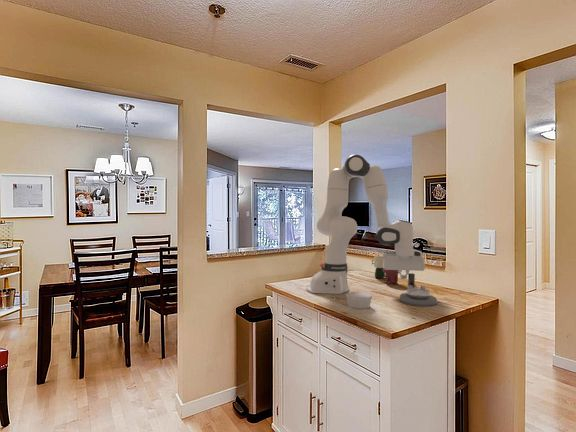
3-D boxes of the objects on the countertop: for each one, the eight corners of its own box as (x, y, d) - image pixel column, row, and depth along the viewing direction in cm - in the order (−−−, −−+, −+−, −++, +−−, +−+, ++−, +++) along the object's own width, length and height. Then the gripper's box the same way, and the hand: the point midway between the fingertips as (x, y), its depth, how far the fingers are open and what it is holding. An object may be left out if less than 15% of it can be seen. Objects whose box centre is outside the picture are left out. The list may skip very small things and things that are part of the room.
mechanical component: (381, 281, 200) (398, 281, 199) (384, 285, 190) (402, 285, 189) (381, 260, 200) (398, 260, 199) (384, 263, 190) (402, 263, 189)
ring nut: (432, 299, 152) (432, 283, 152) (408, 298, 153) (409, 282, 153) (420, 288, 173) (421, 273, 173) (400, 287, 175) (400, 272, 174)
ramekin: (353, 301, 157) (353, 290, 157) (376, 306, 150) (376, 294, 150) (341, 306, 149) (341, 294, 149) (364, 312, 142) (364, 299, 141)
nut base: (409, 306, 149) (409, 301, 149) (394, 297, 165) (394, 292, 165) (443, 306, 151) (443, 301, 151) (425, 296, 167) (425, 292, 166)
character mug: (390, 278, 209) (390, 257, 209) (386, 280, 204) (386, 258, 203) (373, 275, 216) (373, 255, 215) (369, 277, 210) (369, 256, 210)
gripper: (383, 252, 171) (383, 279, 171) (426, 253, 168) (425, 280, 168) (382, 250, 177) (381, 276, 178) (423, 251, 174) (422, 278, 175)
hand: (403, 278), depth 173 cm, fingers closed
